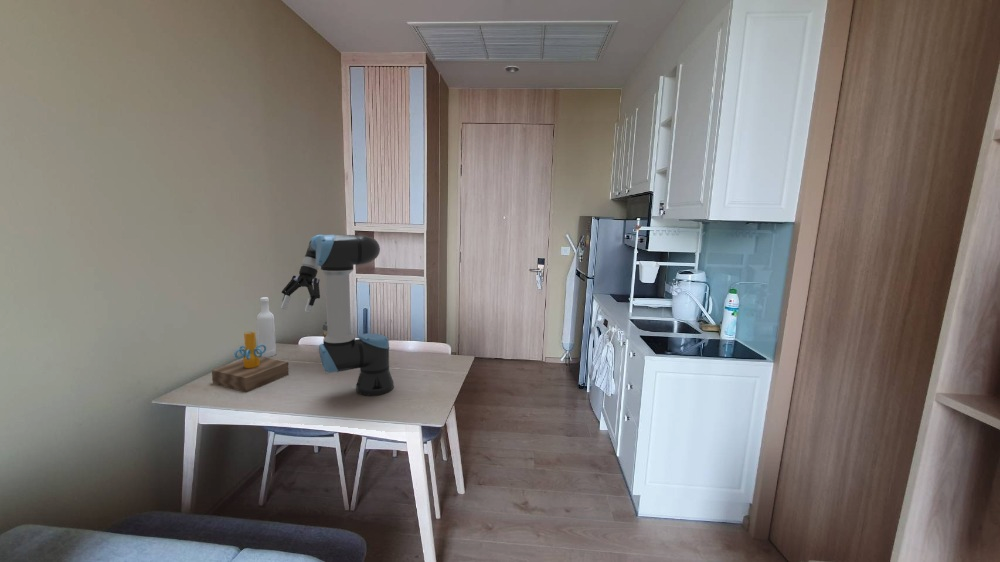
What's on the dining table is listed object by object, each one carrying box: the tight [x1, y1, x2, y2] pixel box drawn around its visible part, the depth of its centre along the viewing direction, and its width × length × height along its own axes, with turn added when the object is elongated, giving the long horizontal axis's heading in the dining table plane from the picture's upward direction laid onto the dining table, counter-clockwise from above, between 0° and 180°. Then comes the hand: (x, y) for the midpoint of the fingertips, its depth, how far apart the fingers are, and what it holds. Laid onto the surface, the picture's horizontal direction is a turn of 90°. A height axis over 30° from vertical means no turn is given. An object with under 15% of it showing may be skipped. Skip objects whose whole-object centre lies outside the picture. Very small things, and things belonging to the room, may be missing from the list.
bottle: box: [256, 296, 277, 358], centre depth 200 cm, size 8×8×30 cm
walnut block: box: [211, 357, 290, 393], centre depth 171 cm, size 20×20×6 cm
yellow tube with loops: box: [234, 330, 266, 368], centre depth 170 cm, size 12×10×15 cm
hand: (295, 310), depth 182 cm, fingers open, 13 cm apart
